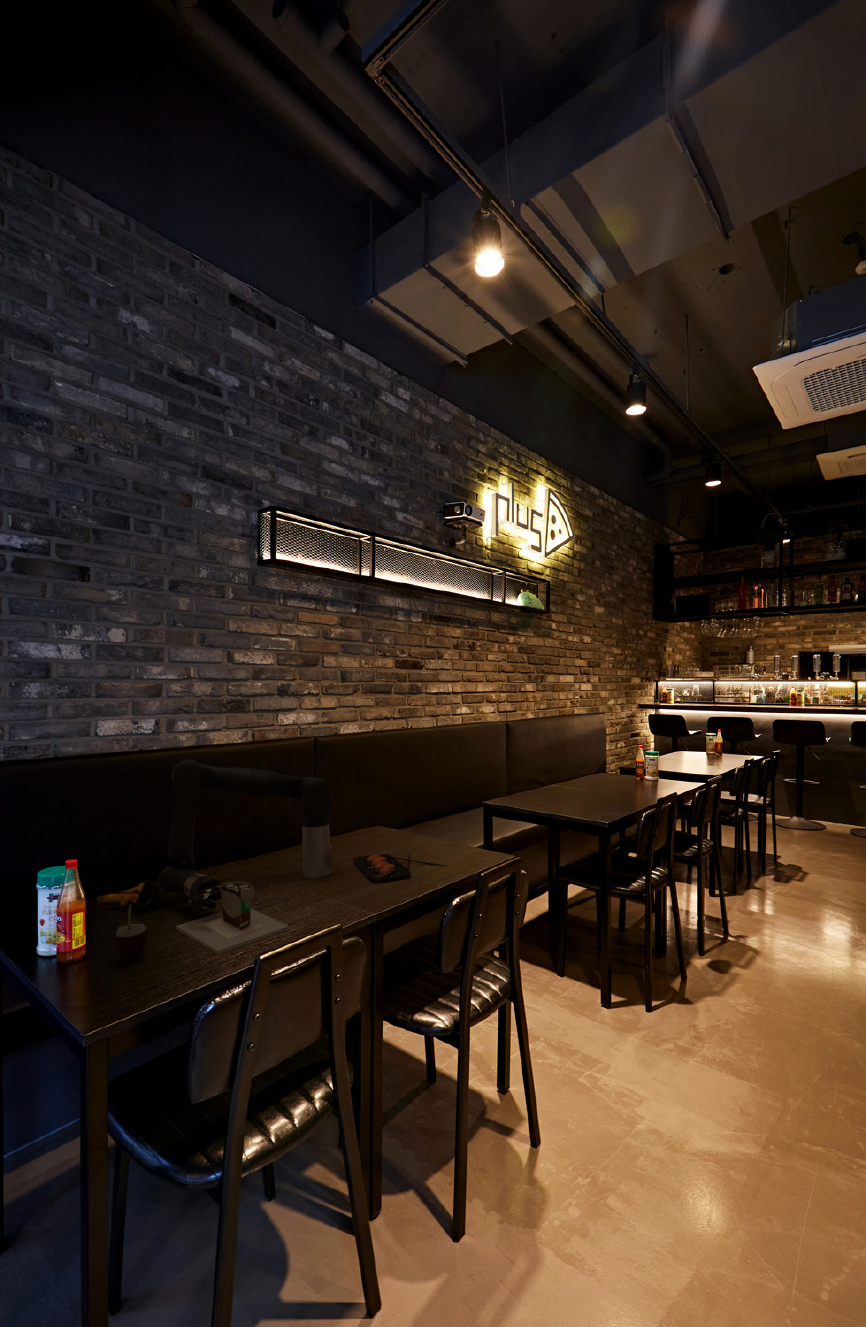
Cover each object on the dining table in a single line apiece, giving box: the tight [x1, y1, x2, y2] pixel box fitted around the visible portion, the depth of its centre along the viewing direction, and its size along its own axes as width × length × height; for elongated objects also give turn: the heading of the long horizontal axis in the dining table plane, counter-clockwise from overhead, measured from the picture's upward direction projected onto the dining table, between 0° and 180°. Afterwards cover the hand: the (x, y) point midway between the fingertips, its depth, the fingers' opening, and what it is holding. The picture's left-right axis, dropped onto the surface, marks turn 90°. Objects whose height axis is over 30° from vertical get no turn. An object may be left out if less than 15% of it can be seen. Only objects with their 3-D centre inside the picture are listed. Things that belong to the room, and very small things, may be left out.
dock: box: [175, 908, 290, 956], centre depth 164 cm, size 20×24×1 cm
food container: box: [220, 880, 255, 930], centre depth 166 cm, size 12×6×10 cm, turn 46°
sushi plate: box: [353, 853, 447, 881], centre depth 217 cm, size 29×30×4 cm
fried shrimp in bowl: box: [97, 879, 163, 912], centre depth 182 cm, size 9×11×18 cm
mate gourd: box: [114, 904, 148, 965], centre depth 148 cm, size 8×8×15 cm
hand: (229, 901), depth 165 cm, fingers open, 8 cm apart
